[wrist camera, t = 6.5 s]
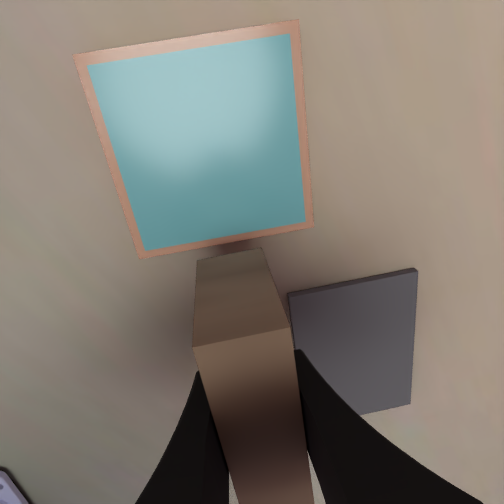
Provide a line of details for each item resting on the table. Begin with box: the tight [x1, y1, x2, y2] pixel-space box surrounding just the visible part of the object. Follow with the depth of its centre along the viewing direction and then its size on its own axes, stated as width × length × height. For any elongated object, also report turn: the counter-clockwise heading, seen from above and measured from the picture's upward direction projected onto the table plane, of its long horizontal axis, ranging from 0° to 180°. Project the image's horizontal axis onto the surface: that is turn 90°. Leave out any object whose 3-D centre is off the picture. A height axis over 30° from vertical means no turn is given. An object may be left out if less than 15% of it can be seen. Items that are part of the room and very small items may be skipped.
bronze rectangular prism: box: [192, 248, 314, 504], centre depth 12 cm, size 8×2×5 cm, turn 9°
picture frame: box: [73, 19, 314, 259], centre depth 14 cm, size 2×8×8 cm
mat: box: [288, 268, 418, 415], centre depth 20 cm, size 10×7×1 cm
